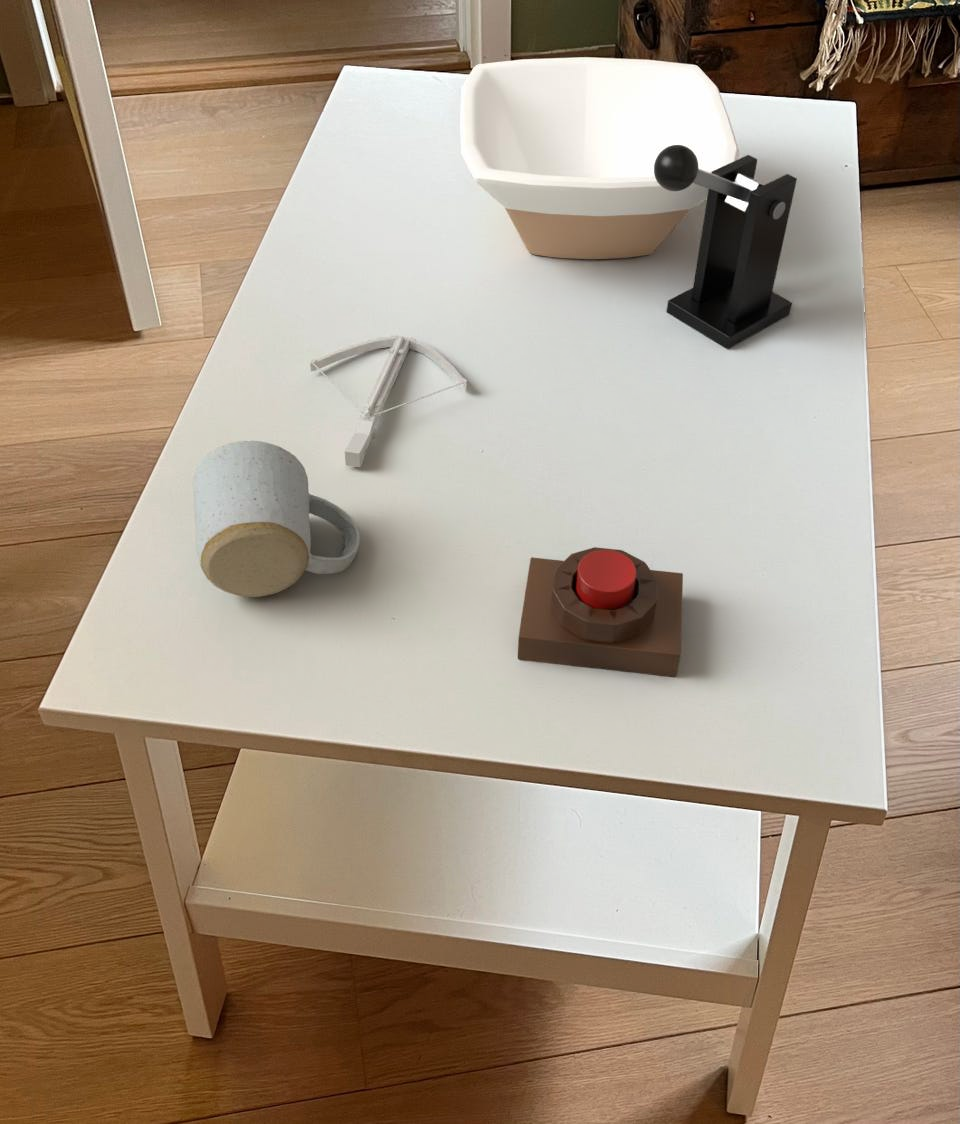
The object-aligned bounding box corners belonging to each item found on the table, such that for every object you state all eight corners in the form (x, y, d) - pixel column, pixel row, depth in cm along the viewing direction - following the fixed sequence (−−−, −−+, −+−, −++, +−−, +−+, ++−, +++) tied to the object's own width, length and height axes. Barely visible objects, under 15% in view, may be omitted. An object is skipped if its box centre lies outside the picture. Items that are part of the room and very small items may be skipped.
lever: (670, 193, 84) (691, 150, 83) (638, 176, 86) (657, 133, 84) (764, 226, 95) (784, 187, 93) (734, 210, 96) (752, 172, 95)
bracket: (727, 349, 98) (754, 209, 89) (666, 312, 102) (686, 173, 92) (790, 314, 102) (822, 175, 92) (728, 279, 105) (753, 143, 96)
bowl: (460, 296, 103) (459, 184, 95) (461, 160, 120) (460, 55, 112) (732, 297, 103) (753, 185, 96) (694, 160, 120) (709, 56, 113)
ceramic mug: (205, 612, 77) (188, 528, 72) (201, 526, 83) (185, 441, 77) (367, 592, 79) (362, 508, 73) (353, 509, 84) (347, 425, 79)
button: (634, 571, 75) (637, 552, 74) (632, 613, 73) (635, 594, 72) (578, 565, 76) (580, 546, 74) (573, 607, 73) (575, 588, 72)
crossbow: (331, 343, 99) (329, 321, 98) (479, 361, 98) (479, 340, 96) (270, 456, 88) (267, 434, 86) (437, 479, 86) (436, 457, 85)
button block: (678, 595, 79) (686, 553, 76) (676, 677, 74) (684, 635, 71) (529, 579, 80) (531, 537, 77) (517, 659, 75) (519, 617, 72)
